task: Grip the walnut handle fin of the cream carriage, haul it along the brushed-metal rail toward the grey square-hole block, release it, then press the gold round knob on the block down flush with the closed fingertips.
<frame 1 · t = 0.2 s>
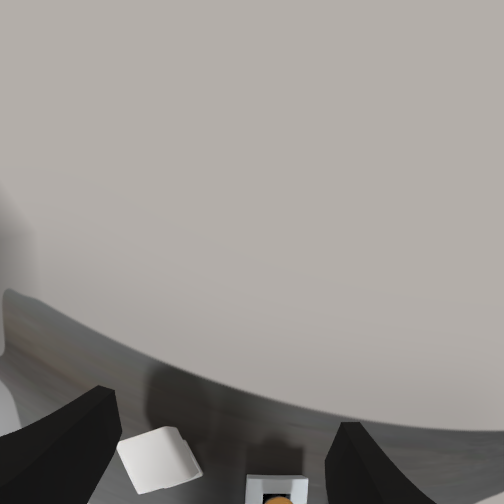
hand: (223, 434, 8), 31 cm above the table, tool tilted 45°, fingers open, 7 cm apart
security camera: (173, 458, 32), on the table
grey square-hole block: (273, 498, 29), on the table
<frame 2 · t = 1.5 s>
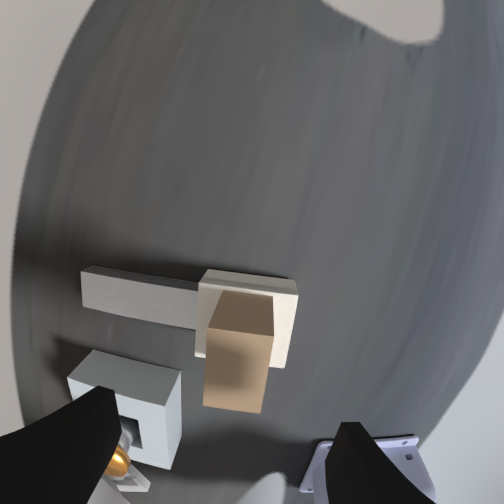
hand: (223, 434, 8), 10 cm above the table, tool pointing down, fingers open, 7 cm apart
gold round knob: (113, 438, 16), point 5 cm above the table, slide at 0.0 cm
security camera: (113, 468, 24), on the table
rail: (182, 298, 19), on the table
carriage: (242, 336, 15), point 4 cm above the table, slide at 0.0 cm
grey square-hole block: (138, 396, 21), on the table
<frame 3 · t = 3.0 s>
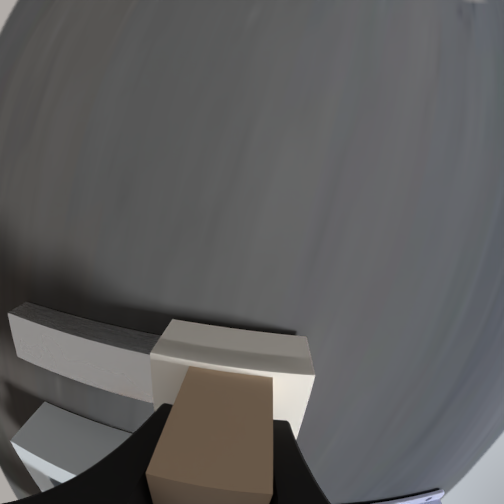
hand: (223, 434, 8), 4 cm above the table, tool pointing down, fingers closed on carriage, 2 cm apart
rail: (141, 355, 12), on the table
carriage: (222, 435, 8), point 4 cm above the table, slide at 0.0 cm, touching gripper
grey square-hole block: (103, 456, 14), on the table
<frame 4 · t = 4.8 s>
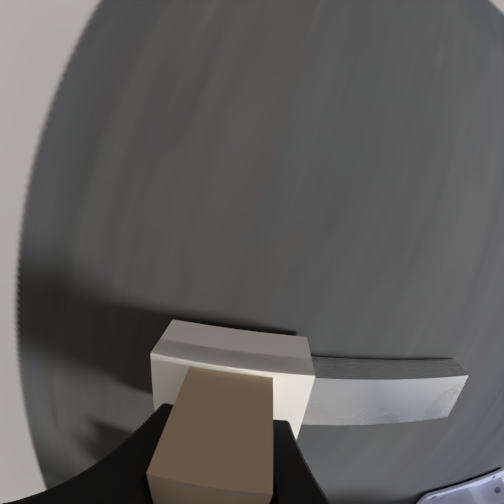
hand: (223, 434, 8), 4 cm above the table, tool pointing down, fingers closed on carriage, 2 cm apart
rail: (319, 380, 12), on the table
carriage: (223, 435, 8), point 4 cm above the table, slide at 7.5 cm, touching gripper
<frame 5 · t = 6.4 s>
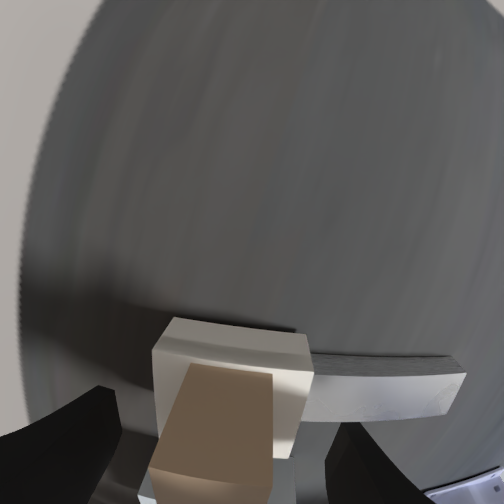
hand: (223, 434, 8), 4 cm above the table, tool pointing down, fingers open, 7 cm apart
rail: (318, 377, 12), on the table
carriage: (223, 431, 8), point 4 cm above the table, slide at 7.5 cm
grey square-hole block: (222, 483, 14), on the table
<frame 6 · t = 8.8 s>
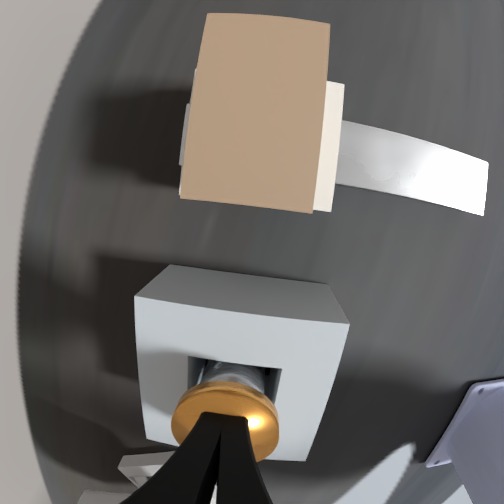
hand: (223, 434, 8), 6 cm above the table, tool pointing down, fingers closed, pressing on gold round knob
gold round knob: (231, 394, 10), point 4 cm above the table, slide at 1.2 cm, touching gripper
security camera: (163, 474, 17), on the table
rail: (347, 157, 12), on the table
carriage: (261, 130, 8), point 4 cm above the table, slide at 7.5 cm
grey square-hole block: (240, 344, 14), on the table
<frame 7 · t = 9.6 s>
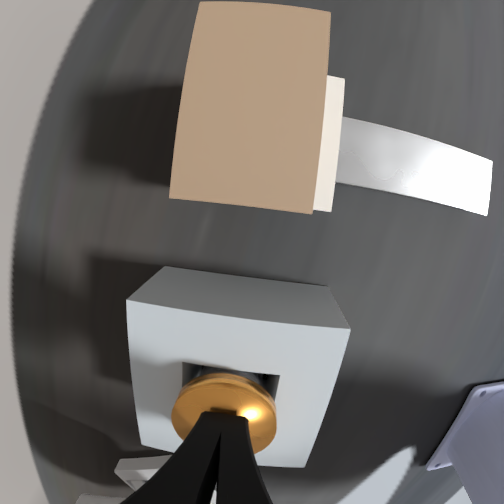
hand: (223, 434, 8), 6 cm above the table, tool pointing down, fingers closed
gold round knob: (230, 387, 11), point 3 cm above the table, slide at 2.0 cm
security camera: (160, 477, 17), on the table
rail: (347, 155, 11), on the table
carriage: (258, 126, 8), point 4 cm above the table, slide at 7.5 cm
grey square-hole block: (237, 348, 14), on the table
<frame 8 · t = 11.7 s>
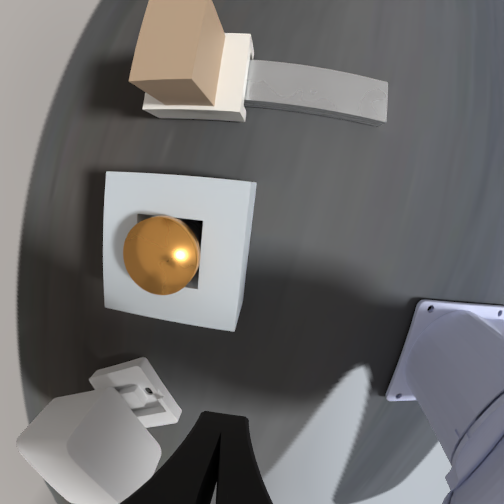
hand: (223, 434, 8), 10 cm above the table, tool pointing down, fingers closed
gold round knob: (173, 247, 15), point 3 cm above the table, slide at 2.0 cm
security camera: (131, 392, 21), on the table
rail: (267, 89, 16), on the table
carriage: (190, 63, 12), point 4 cm above the table, slide at 7.5 cm
grey square-hole block: (189, 236, 18), on the table
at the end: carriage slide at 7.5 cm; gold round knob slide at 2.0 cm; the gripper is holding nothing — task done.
